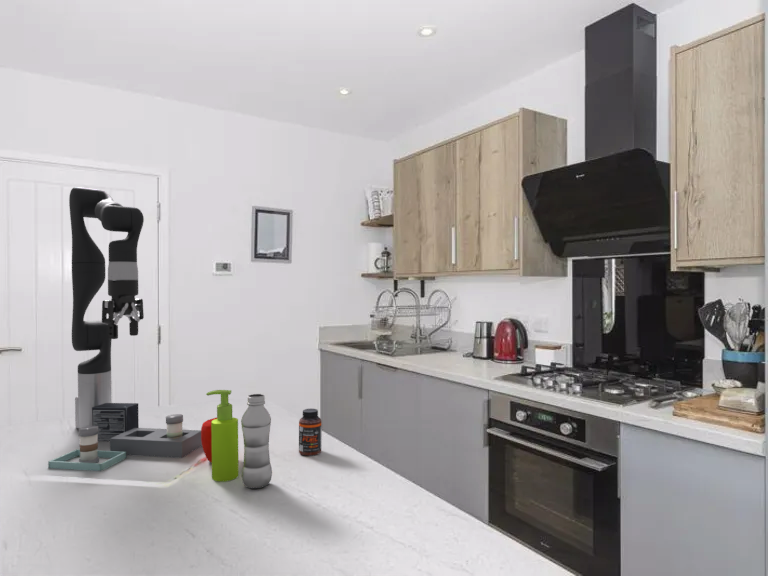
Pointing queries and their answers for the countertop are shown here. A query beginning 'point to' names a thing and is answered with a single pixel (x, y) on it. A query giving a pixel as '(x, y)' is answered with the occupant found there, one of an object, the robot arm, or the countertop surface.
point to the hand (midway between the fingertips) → (123, 337)
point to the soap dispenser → (224, 440)
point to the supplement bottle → (310, 433)
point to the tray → (61, 463)
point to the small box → (114, 419)
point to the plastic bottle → (256, 443)
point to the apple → (207, 439)
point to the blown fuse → (89, 444)
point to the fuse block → (158, 440)
